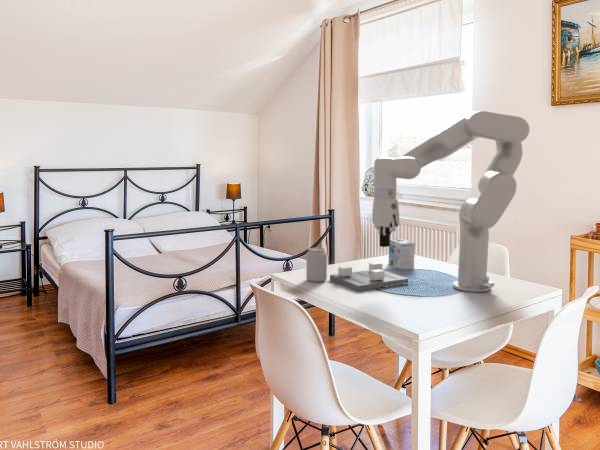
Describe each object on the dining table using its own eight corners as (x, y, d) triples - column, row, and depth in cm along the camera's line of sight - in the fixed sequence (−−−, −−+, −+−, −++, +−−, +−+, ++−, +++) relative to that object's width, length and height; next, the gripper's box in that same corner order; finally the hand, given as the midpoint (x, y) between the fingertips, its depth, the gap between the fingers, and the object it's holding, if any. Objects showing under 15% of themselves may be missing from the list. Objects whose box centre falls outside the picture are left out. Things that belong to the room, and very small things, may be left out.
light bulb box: (387, 264, 222) (388, 239, 220) (402, 263, 224) (402, 238, 222) (399, 269, 212) (400, 243, 210) (414, 268, 214) (415, 242, 212)
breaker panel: (408, 283, 189) (408, 269, 188) (358, 291, 178) (358, 276, 177) (377, 273, 204) (377, 260, 204) (329, 280, 194) (330, 266, 193)
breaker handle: (384, 279, 186) (384, 270, 186) (375, 280, 184) (375, 272, 184) (379, 277, 189) (379, 269, 188) (370, 278, 187) (370, 270, 187)
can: (315, 284, 188) (315, 251, 186) (302, 280, 194) (302, 248, 192) (330, 280, 193) (331, 248, 191) (317, 277, 198) (317, 246, 197)
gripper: (407, 194, 175) (406, 248, 177) (381, 191, 188) (380, 242, 190) (389, 196, 171) (388, 250, 174) (363, 193, 185) (363, 244, 187)
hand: (384, 246), depth 182 cm, fingers closed
